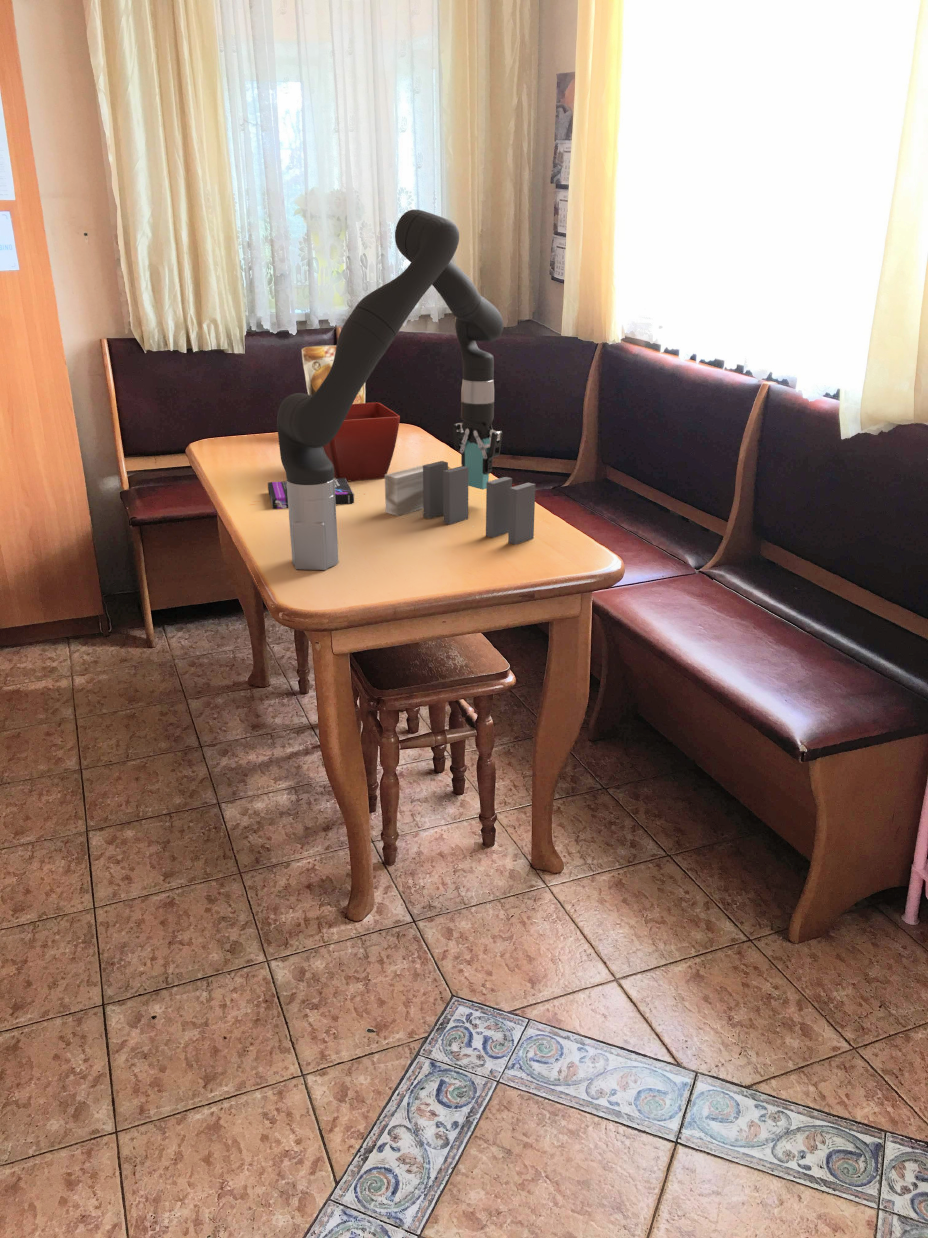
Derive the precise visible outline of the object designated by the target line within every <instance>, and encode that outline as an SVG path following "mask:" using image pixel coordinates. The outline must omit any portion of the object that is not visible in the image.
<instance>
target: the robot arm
mask: <svg viewBox="0 0 928 1238" xmlns="http://www.w3.org/2000/svg"><path fill="white" fill-rule="evenodd" d="M394 240H395V245H396V248H397V250H398V251H399V252H400V254H401V255H402V256H403V257H404V258H405V259H406V260H408V261H409V262H410V263H409V265H408V266H407V267H406V268H405V269H404V270H403V272H401V273H400V274H399V275H398V276H397V277H396V278H394V279H392V280H390V281H389V282H387V283H385V284H383V285H382V286H380V287H378V288H376V289H374V290H373V291H371V292H369V294H367V295H366V296H364V297H363V298H361V300H360V301H358V303H357V304H356V306H355V307H354V308H353V310H352V311H351V313H350V314H349V316H348V318H347V319H346V321H345V322H344V323H343V326H342V328H341V329H340V332H339V334H338V338H337V342H336V345H337V346H336V351H335V356H334V361H333V364H332V367H331V369H330V371H329V373H328V375H327V377H326V378H325V380H324V381H323V383H322V384H321V386H320V387H319V388H318V390H317V391H316V392H315V393H314V395H313V396H311V395H308V393H303V392H295V393H293V394H290V395H288V396H286V397H285V398H284V399H283V400H282V402H281V403H280V405H279V407H278V411H277V415H276V417H277V418H276V428H277V429H276V430H277V437H278V447H279V454H280V455H279V456H280V460H281V464H282V466H283V469H284V471H285V476H286V477H285V479H286V481H287V494H288V508H287V510H288V521H289V522H288V523H289V533H290V534H289V535H290V537H289V538H290V548H291V560H292V561H291V562H292V565H293V566H294V568H295V570H313V571H314V570H315V571H316V570H317V571H326V570H328V569H329V568H332V567H334V566H336V565H337V564H338V563H339V541H338V526H337V525H338V524H337V522H338V521H337V505H336V500H335V479H336V478H335V477H334V467H333V464H332V462H331V461H330V460H329V458H328V457H327V455H326V453H325V451H324V448H323V446H325V445H326V444H328V443H329V442H330V441H331V440H332V439H333V438H334V437H335V435H336V434H337V432H338V431H339V429H340V427H341V425H342V423H343V421H344V419H345V417H346V415H347V414H348V412H349V410H350V408H351V406H352V404H353V402H354V400H355V398H356V396H357V395H358V393H359V391H360V390H361V388H362V386H363V385H364V383H365V382H367V380H369V377H370V375H371V374H372V373H373V371H374V370H375V368H376V366H377V365H378V363H379V361H380V360H381V359H382V358H383V356H384V355H385V353H386V351H387V350H388V349H389V347H390V346H391V344H392V343H393V342H394V340H395V338H396V336H397V335H398V333H399V332H400V330H401V329H402V326H403V325H404V323H405V322H406V321H407V319H408V318H409V316H410V314H411V313H412V312H413V310H414V309H415V308H416V306H417V304H418V303H419V301H421V299H422V297H424V295H425V294H426V293H427V291H428V290H429V289H430V288H431V287H433V288H434V289H435V290H436V292H437V293H438V294H439V296H440V297H441V298H442V299H443V301H444V303H445V305H446V306H447V307H448V309H449V310H450V312H451V314H452V315H453V316H454V317H455V323H454V325H455V327H454V328H455V332H456V333H455V334H456V337H457V341H458V344H459V349H460V353H461V358H462V384H461V391H460V392H461V393H460V394H461V395H460V396H461V399H460V401H461V402H460V404H461V405H460V406H461V407H460V418H461V420H462V422H458V423H453V424H452V433H453V443H454V444H453V445H454V450H456V451H457V450H458V451H459V453H460V454H461V456H460V457H461V465H460V466H464V467H465V448H466V446H467V442H468V441H469V443H475V444H477V445H478V447H479V449H480V450H481V451H482V455H483V458H484V459H483V474H485V475H486V474H489V475H490V474H491V473H492V471H493V458H495V457H499V456H500V455H501V447H502V440H503V431H502V430H494V429H493V425H492V422H493V420H494V418H495V416H494V415H495V384H494V383H495V382H494V381H495V380H494V379H495V378H494V376H495V375H494V374H495V373H494V371H495V360H494V359H495V358H494V355H493V354H491V353H490V352H487V351H485V350H482V349H480V348H479V347H478V344H477V342H486V343H488V342H489V343H490V342H495V341H496V340H498V339H499V338H500V337H501V335H502V333H503V330H504V321H503V320H504V319H503V317H502V314H501V312H500V311H499V310H498V308H497V307H496V306H495V305H494V304H493V303H492V302H491V301H489V300H487V299H486V298H485V297H483V296H482V295H481V294H480V292H479V291H478V288H477V287H476V286H475V283H473V280H471V278H470V277H469V275H468V274H467V273H465V272H464V271H463V270H462V269H461V267H459V266H458V264H456V263H454V262H453V260H452V259H453V257H454V256H455V254H456V251H457V249H458V245H459V243H460V230H459V228H458V226H457V224H456V223H455V222H453V221H452V220H450V219H447V218H445V217H442V216H439V215H437V214H434V213H431V212H428V211H425V210H421V209H409V210H407V211H406V212H404V213H403V214H402V215H401V216H400V217H399V219H398V221H397V224H396V226H395V230H394ZM489 437H490V443H489V444H487V445H484V444H483V442H482V440H483V439H486V438H488V439H489ZM486 448H489V453H487V450H486Z"/></svg>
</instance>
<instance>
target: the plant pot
mask: <svg viewBox="0 0 928 1238" xmlns="http://www.w3.org/2000/svg"><path fill="white" fill-rule="evenodd" d="M400 419H401V415H399V414H397V413H396V412H395V411H393V410H392V409H390V408H388V407H387V406H385V405H384V404H382V403H381V402H365V403H359V404H352V406H351V408H350V410H349V412H348V414H347V415H346V417H345V419H344V421H343V423H342V425H341V427H340V429H339V431H338V432H337V434H336V435H335V437H334V438H333V439H332V440H331V441H330V442H329V443H328V444H326V445H325V446H323V448H324V451H325V453H326V455H327V457H328V458H329V460H330V461H331V462H332V464H333V467H334V479H336V478H346V481H347V482H355V481H367V480H375V479H385V475H386V474H388V471H389V470H390V465H391V462H392V459H393V456H394V453H395V448H396V445H397V444H396V443H397V439H398V433H399V430H400V429H399V428H400V421H401V420H400Z"/></svg>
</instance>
